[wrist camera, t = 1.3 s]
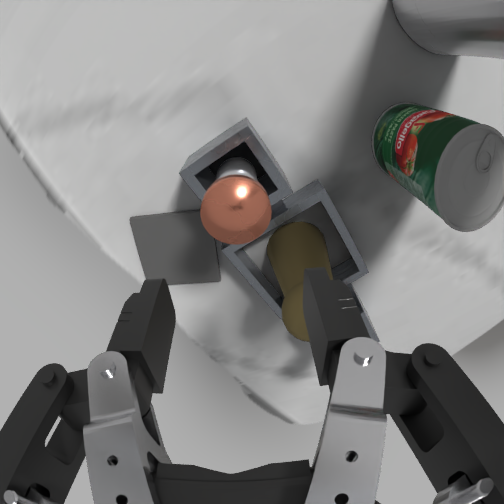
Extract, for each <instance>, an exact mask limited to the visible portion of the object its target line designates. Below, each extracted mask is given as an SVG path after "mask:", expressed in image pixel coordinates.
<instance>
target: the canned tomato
mask: <svg viewBox="0 0 504 504" xmlns="http://www.w3.org/2000/svg"><path fill="white" fill-rule="evenodd" d="M372 151H373V155H374V158H375V160H376V162H377V164H378V166H379V167H380V169H381V170H382V171H383V172H384V173H385V174H387V175H388V176H390V177H391V178H393V179H394V180H395V181H397V182H398V183H399V184H400V185H401V186H403V187H404V188H405V189H407V190H408V191H409V192H410V193H412V194H413V195H414V196H415V197H417V198H418V199H419V200H420V201H422V202H423V203H424V204H425V205H426V206H428V207H429V208H430V209H431V210H432V211H433V212H434V213H436V214H437V215H438V216H439V217H441V218H442V219H443V220H444V221H445V223H446V224H447V225H449V226H450V227H451V228H453V229H455V230H458V231H462V232H469V231H474V230H477V229H479V228H482V227H483V226H485V225H486V224H488V223H489V222H490V221H491V220H492V219H493V218H494V217H495V216H496V215H497V214H498V212H499V211H500V210H501V208H502V206H503V205H504V137H503V136H502V134H501V133H500V132H498V131H497V130H496V129H495V128H493V127H491V126H488V125H485V124H480V123H478V122H475V121H473V120H469V119H466V118H463V117H460V116H456V115H454V114H450V113H447V112H443V111H439V110H436V109H432V108H428V107H424V106H421V105H417V104H413V103H399V104H396V105H393V106H391V107H390V108H388V109H387V110H386V111H384V112H383V114H382V115H381V116H380V117H379V119H378V120H377V122H376V124H375V127H374V130H373V134H372Z"/></svg>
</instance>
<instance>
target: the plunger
mask: <svg viewBox="0 0 504 504" xmlns="http://www.w3.org/2000/svg"><path fill="white" fill-rule="evenodd" d="M271 212H272V211H271V205H270V200H269V197H268V194H267V192H266V190H265V189H264V187H263V186H262V185H261V184H260V183H259V182H258V181H257V175H256V171H255V168H254V166H253V165H252V163H250V162H249V161H248V160H246V159H244V158H241V157H233V158H229V159H227V160H225V161H224V162H223V163H222V164H221V165H220V167H219V169H218V172H217V176H216V181H215V182H213V183H212V184H211V185H210V186H209V187H208V189H207V190H206V192H205V194H204V197H203V200H202V204H201V209H200V215H201V221H202V223H203V226H204V227H205V229H206V230H207V232H208V233H209V234H210V235H211V236H212V237H214V238H215V239H217V240H219V241H221V242H224V243H227V244H234V245H237V244H245V243H248V242H251V241H253V240H255V239H257V238H258V237H259V236H261V235H262V234H263V233H264V232H265V230H266V229H267V227H268V225H269V223H270V220H271Z"/></svg>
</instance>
